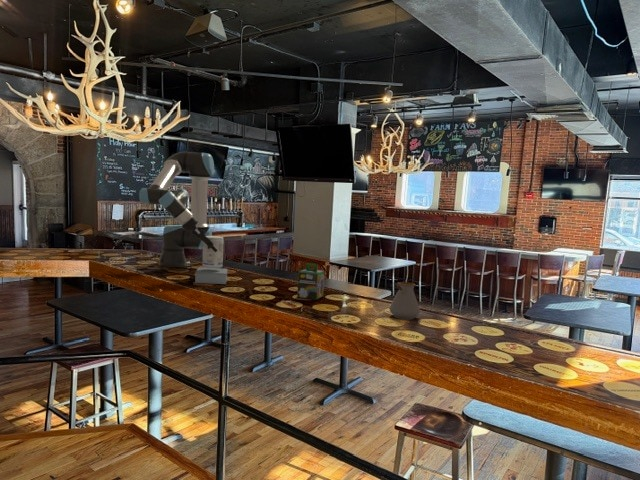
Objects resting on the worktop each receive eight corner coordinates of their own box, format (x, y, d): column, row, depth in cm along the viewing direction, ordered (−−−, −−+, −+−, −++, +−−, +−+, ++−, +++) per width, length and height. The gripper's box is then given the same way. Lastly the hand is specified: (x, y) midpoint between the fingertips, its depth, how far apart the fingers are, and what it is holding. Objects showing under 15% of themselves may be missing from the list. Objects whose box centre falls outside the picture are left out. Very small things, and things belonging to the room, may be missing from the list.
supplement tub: (216, 265, 218) (218, 235, 217) (225, 268, 211) (227, 237, 210) (198, 265, 212) (200, 235, 211) (207, 268, 205) (208, 237, 204)
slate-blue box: (197, 277, 218) (198, 267, 218) (226, 278, 221) (227, 268, 220) (194, 282, 203) (195, 272, 203) (226, 284, 206) (226, 273, 206)
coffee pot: (393, 311, 173) (397, 274, 172) (422, 316, 168) (426, 278, 167) (375, 322, 154) (378, 280, 153) (407, 328, 149) (411, 285, 148)
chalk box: (323, 296, 193) (325, 263, 192) (316, 300, 184) (319, 265, 183) (303, 293, 196) (306, 261, 195) (296, 297, 187) (298, 263, 186)
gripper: (179, 224, 215) (210, 257, 222) (182, 227, 194) (216, 263, 201) (191, 214, 217) (222, 247, 223) (195, 216, 196) (228, 252, 203)
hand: (219, 254), depth 212 cm, fingers closed on supplement tub, 9 cm apart
